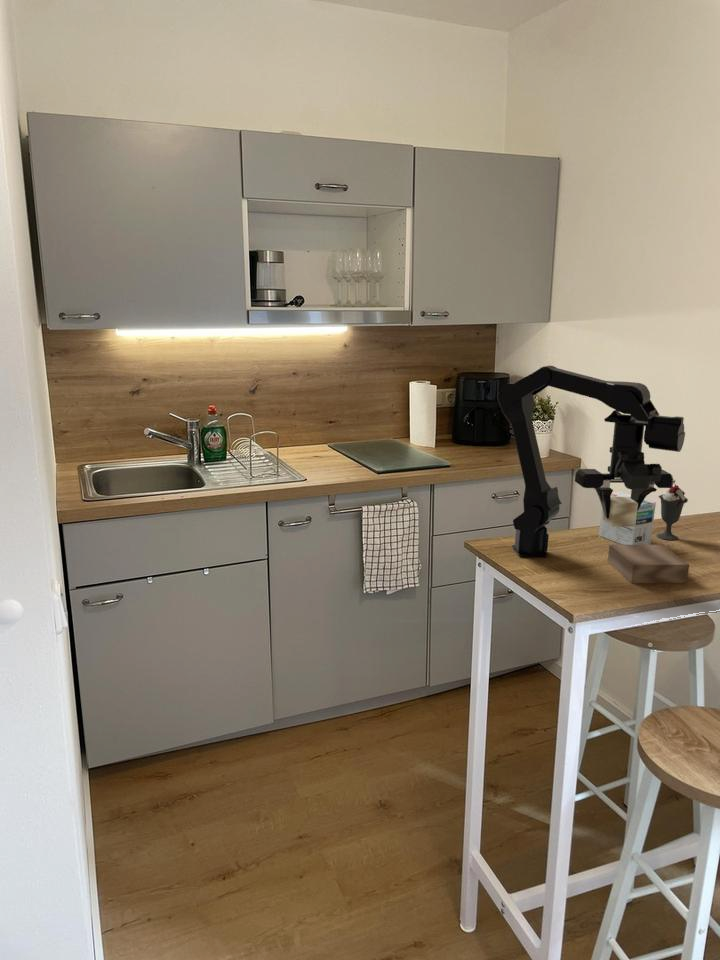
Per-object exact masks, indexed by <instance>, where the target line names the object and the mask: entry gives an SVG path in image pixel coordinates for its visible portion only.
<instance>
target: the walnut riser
mask: <svg viewBox="0 0 720 960" xmlns="http://www.w3.org/2000/svg"><path fill="white" fill-rule="evenodd" d="M607 563H608V564H610V565H611V566H612V567H613V568H614V569H615V570H616V571H617V572H618V573H620V574H621V575H622V576H623V578H625V579H626V580H627V581H628V582H630V584H667V583H669V584H671V583H674V584H675V583H678V584H681V583H684V584H685V583H687V582H688V576H689V570H690V564H689V562H687V561H685V560H684V559H682V558H681V557H680V556H678V555H677V554H675V552H673V551H671V550H670V549H668V548H667V547H666V546H664V545H663V544H650V545H622V544H609V547H608V556H607Z"/></svg>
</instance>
